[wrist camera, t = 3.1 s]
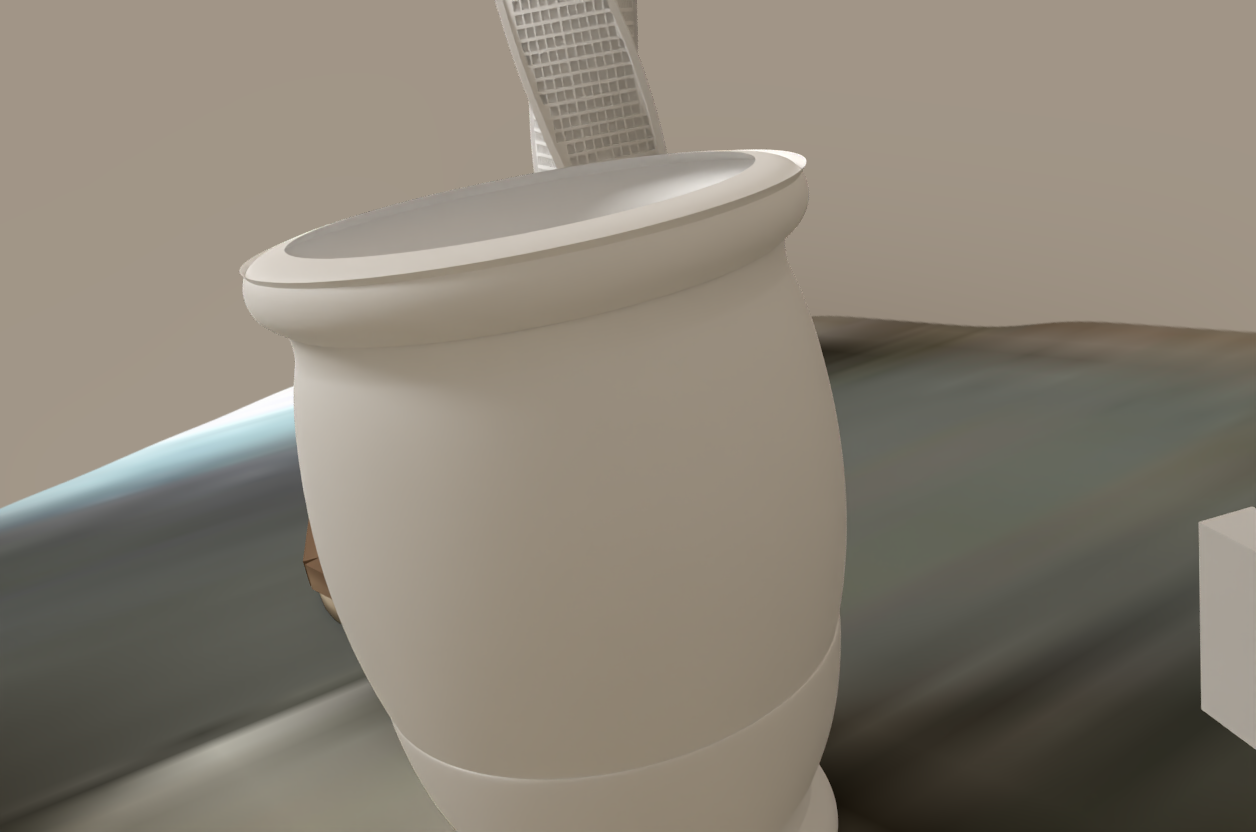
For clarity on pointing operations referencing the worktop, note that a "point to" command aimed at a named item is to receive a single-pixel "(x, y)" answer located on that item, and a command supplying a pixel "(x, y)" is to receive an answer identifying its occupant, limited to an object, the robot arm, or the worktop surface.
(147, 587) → the worktop surface
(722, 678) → the jar
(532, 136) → the skyscraper
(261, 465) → the worktop surface
